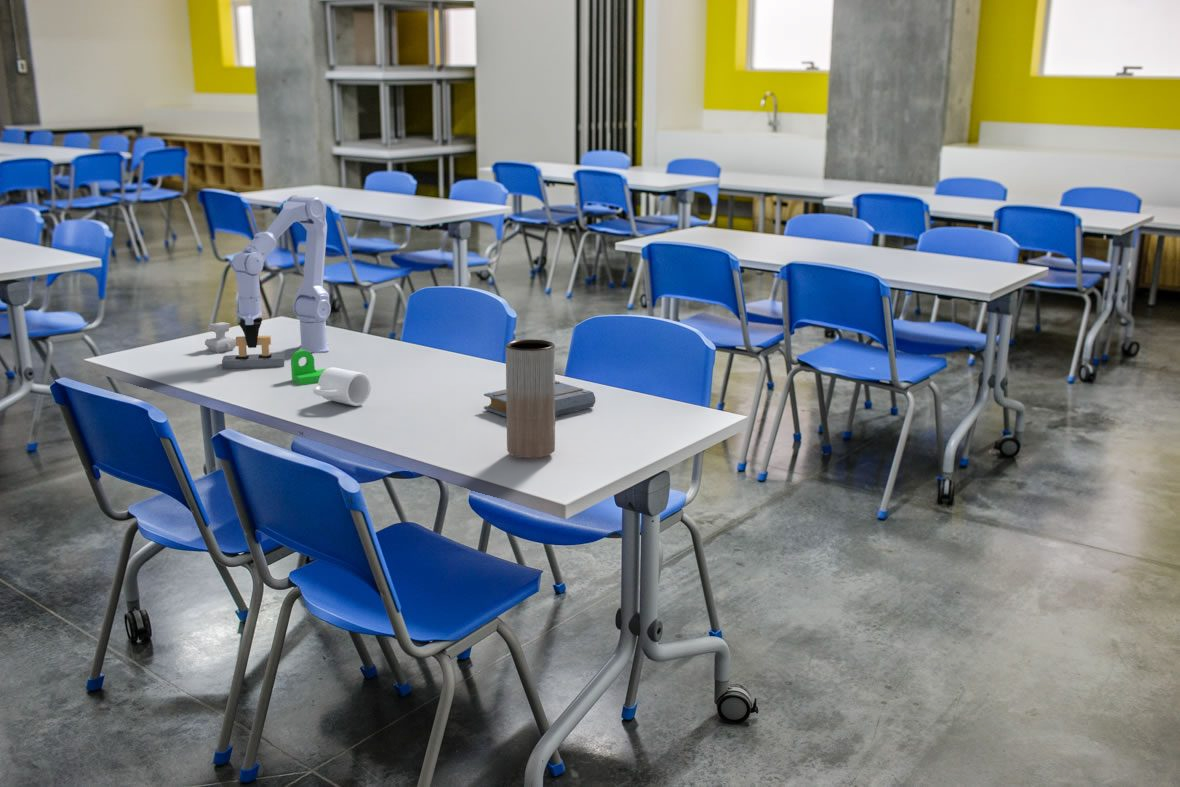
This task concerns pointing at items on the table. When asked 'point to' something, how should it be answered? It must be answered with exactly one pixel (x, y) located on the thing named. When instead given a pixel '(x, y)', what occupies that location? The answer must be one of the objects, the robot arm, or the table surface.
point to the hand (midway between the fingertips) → (252, 346)
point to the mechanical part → (304, 368)
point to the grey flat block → (253, 361)
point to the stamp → (220, 338)
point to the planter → (530, 398)
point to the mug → (343, 386)
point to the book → (565, 399)
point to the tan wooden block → (261, 340)
